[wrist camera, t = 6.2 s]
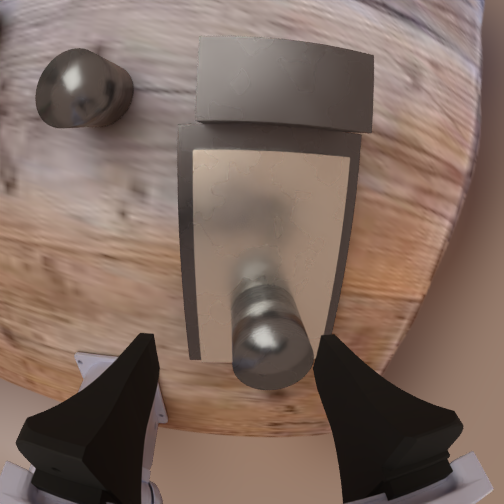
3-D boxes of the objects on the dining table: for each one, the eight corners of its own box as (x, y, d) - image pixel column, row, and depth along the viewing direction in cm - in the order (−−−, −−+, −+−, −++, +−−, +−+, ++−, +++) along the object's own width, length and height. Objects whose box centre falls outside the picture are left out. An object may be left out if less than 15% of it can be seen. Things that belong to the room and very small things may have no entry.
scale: (321, 343, 25) (341, 394, 19) (191, 346, 24) (184, 401, 18) (354, 78, 16) (400, 62, 11) (184, 65, 16) (165, 38, 10)
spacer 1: (132, 123, 17) (102, 122, 12) (75, 130, 16) (34, 134, 12) (135, 60, 15) (107, 40, 10) (77, 70, 15) (38, 59, 10)
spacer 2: (296, 335, 21) (311, 384, 16) (234, 341, 21) (236, 393, 16) (296, 281, 19) (315, 326, 15) (227, 287, 19) (227, 335, 14)
